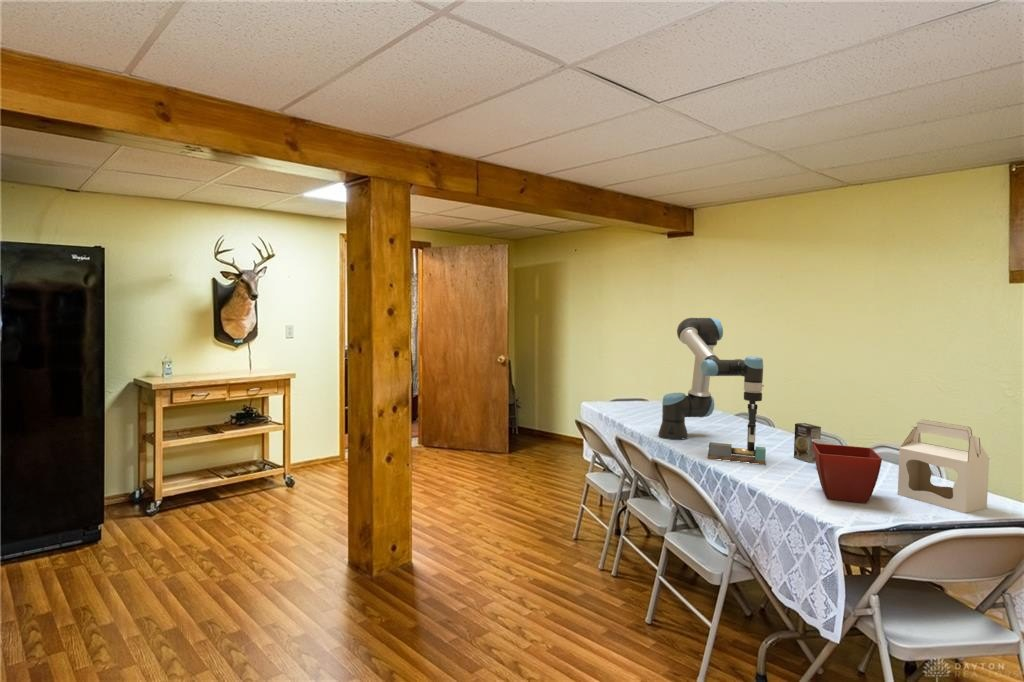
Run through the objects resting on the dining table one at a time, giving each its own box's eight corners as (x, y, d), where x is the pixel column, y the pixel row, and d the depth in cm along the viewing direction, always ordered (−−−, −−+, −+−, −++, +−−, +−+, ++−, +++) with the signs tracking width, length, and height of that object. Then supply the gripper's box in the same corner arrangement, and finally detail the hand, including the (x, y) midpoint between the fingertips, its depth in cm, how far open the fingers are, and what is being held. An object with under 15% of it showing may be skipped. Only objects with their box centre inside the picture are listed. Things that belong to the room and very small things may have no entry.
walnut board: (707, 458, 255) (707, 455, 255) (708, 455, 262) (708, 452, 262) (765, 464, 246) (765, 461, 246) (764, 461, 253) (764, 457, 253)
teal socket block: (755, 459, 249) (755, 448, 248) (755, 457, 253) (755, 446, 253) (765, 460, 247) (765, 449, 247) (764, 458, 252) (765, 447, 251)
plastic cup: (844, 472, 235) (845, 444, 235) (818, 472, 235) (819, 443, 235) (830, 465, 246) (831, 438, 245) (805, 465, 246) (806, 438, 246)
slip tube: (728, 454, 254) (729, 422, 253) (729, 453, 256) (730, 421, 256) (762, 457, 248) (763, 425, 248) (762, 456, 251) (763, 424, 250)
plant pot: (811, 485, 216) (812, 442, 215) (869, 492, 209) (871, 447, 208) (817, 500, 198) (818, 453, 198) (880, 508, 191) (882, 459, 190)
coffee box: (792, 457, 259) (794, 423, 258) (803, 457, 261) (805, 422, 260) (808, 462, 250) (810, 427, 250) (820, 461, 252) (821, 426, 252)
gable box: (896, 494, 207) (899, 418, 206) (917, 490, 212) (921, 416, 211) (966, 513, 187) (970, 430, 185) (988, 508, 192) (992, 427, 191)
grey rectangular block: (708, 455, 256) (709, 444, 256) (709, 452, 261) (709, 442, 260) (731, 457, 252) (731, 446, 252) (731, 455, 257) (731, 444, 257)
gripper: (763, 395, 237) (761, 445, 238) (761, 388, 260) (759, 434, 261) (743, 394, 240) (742, 443, 241) (743, 387, 263) (742, 432, 264)
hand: (751, 438), depth 251 cm, fingers open, 13 cm apart
